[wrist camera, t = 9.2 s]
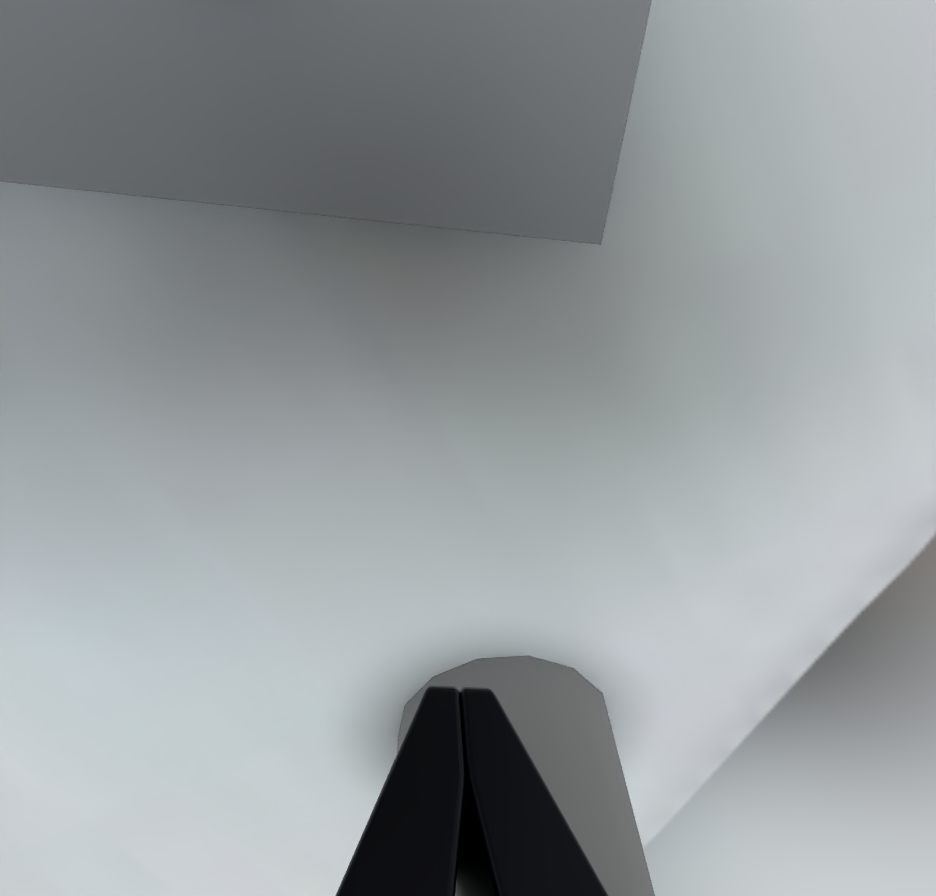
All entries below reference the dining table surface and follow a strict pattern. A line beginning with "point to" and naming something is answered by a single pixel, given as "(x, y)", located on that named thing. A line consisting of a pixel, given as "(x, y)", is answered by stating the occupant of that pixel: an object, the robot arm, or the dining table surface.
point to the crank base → (329, 106)
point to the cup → (565, 756)
